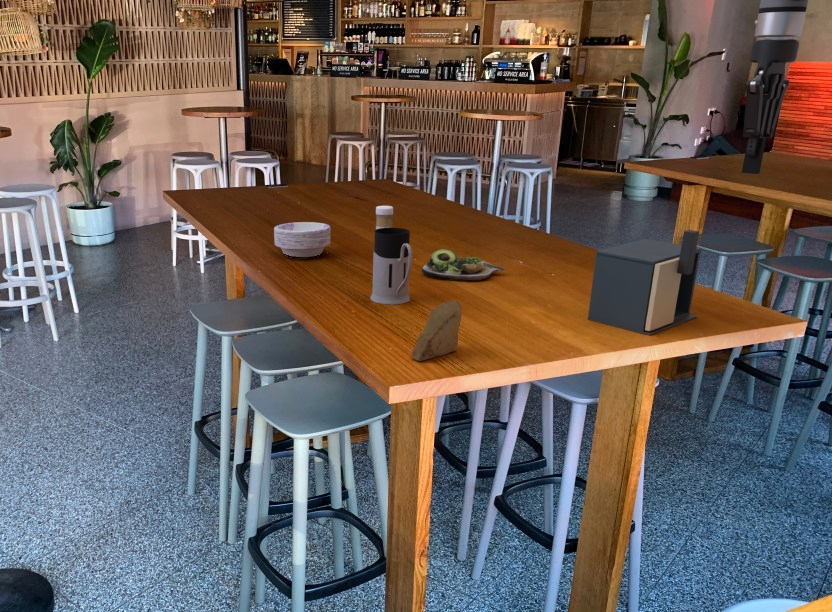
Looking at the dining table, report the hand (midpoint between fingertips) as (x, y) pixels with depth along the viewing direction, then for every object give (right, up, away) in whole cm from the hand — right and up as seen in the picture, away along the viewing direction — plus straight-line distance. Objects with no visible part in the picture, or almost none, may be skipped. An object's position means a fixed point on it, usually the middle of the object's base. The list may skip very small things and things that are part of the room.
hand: (750, 172), depth 152 cm
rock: (-63, -35, -11) cm, 73 cm away
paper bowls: (-88, -6, +63) cm, 108 cm away
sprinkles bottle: (-66, -7, +60) cm, 89 cm away
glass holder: (-66, -23, +20) cm, 73 cm away
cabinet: (-18, -27, +9) cm, 34 cm away
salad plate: (-49, -13, +44) cm, 67 cm away
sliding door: (-16, -30, 0) cm, 34 cm away
